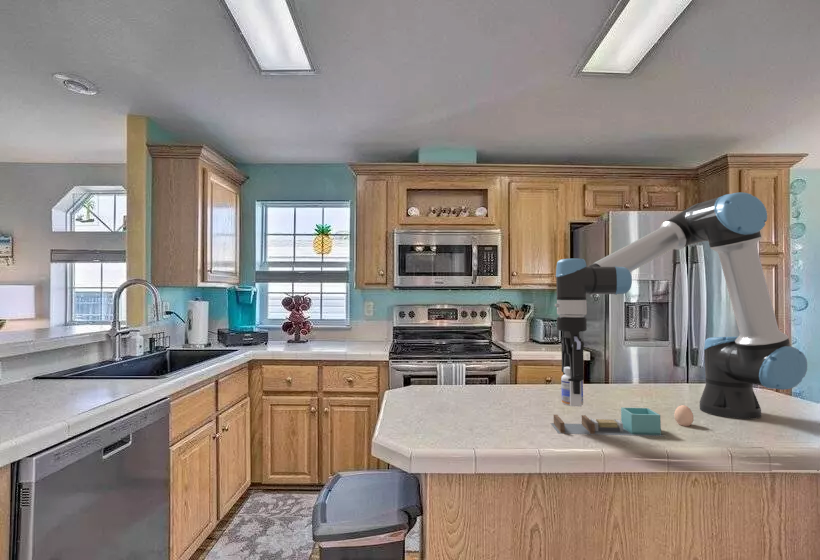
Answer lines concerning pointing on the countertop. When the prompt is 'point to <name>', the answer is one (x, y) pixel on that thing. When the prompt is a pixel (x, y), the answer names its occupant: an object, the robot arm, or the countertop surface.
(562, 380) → the pill bottle
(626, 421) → the teal open box
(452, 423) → the countertop surface
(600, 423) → the pad
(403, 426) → the countertop surface
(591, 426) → the trough
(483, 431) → the countertop surface
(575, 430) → the mat
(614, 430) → the cradle base
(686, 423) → the egg
